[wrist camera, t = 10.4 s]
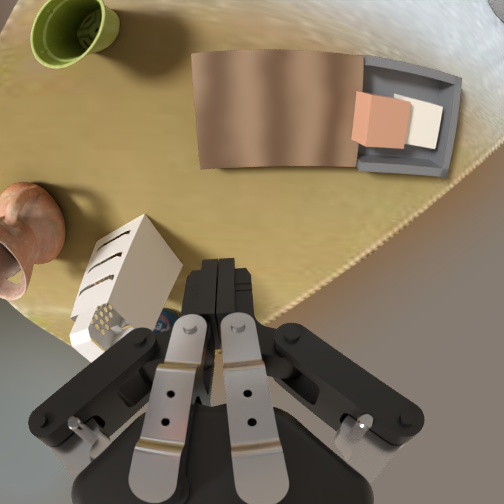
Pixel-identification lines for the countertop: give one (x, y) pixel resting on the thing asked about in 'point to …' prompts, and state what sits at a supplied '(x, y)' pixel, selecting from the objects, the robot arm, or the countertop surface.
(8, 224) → the ceramic jug
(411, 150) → the box
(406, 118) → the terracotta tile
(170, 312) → the soda can
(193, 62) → the walnut ledge
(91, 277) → the grater
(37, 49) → the plant pot
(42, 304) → the countertop surface
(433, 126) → the cream tile
